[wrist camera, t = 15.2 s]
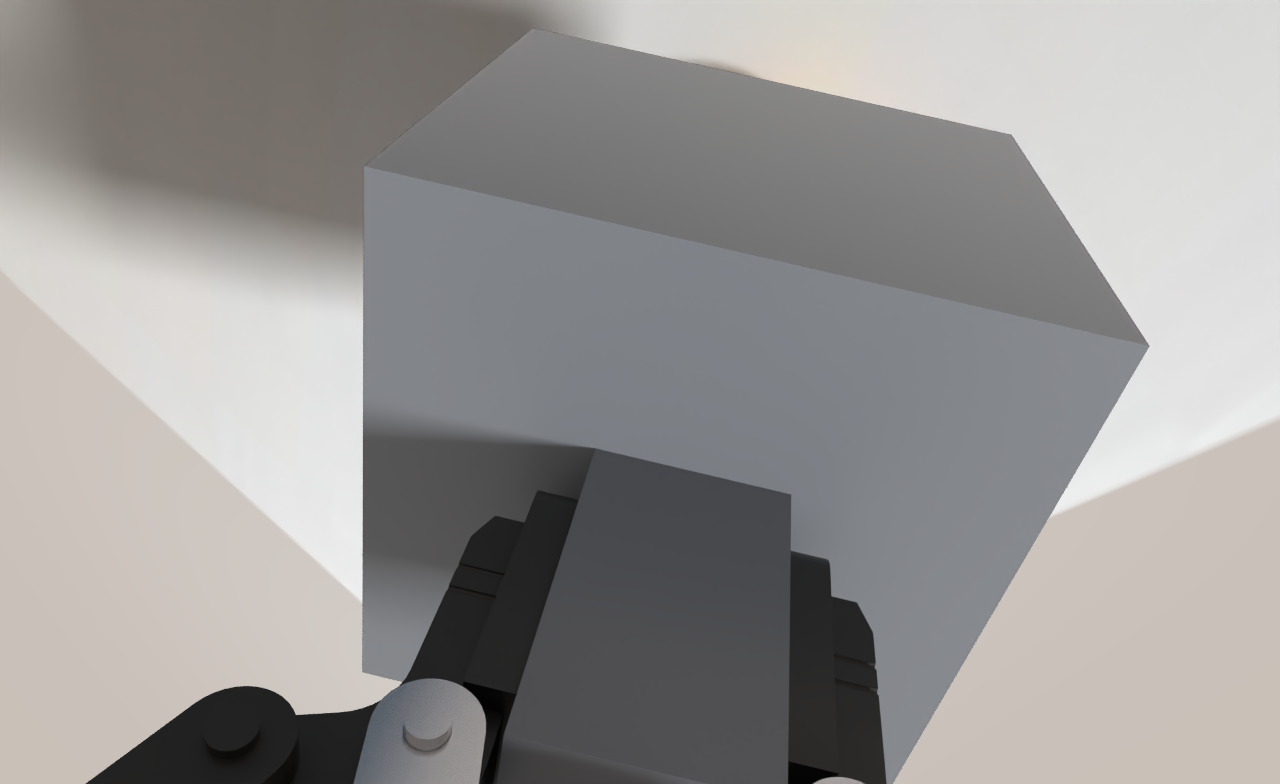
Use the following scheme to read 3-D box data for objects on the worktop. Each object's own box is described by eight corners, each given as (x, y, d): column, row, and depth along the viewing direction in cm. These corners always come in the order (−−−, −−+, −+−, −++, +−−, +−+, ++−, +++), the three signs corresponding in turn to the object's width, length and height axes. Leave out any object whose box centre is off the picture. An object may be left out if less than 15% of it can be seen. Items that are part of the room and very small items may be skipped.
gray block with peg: (533, 27, 19) (117, 367, 7) (1011, 134, 19) (1354, 659, 7) (492, 415, 24) (223, 946, 13) (858, 501, 24) (910, 1120, 13)
